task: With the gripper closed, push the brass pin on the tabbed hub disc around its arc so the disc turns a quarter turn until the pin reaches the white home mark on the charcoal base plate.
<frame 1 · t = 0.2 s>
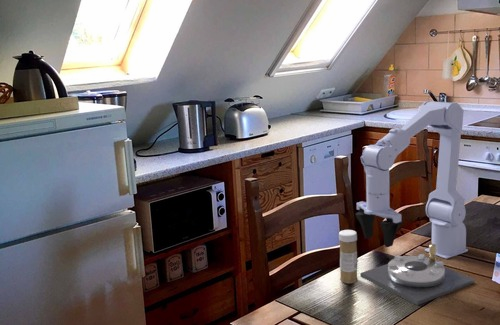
hand: (378, 241, 141), 10 cm above the table, tool pointing down, fingers open, 7 cm apart
tabbed hub disc: (416, 263, 140), point 5 cm above the table, hinge at 0.0°
sprinkles bottle: (348, 281, 143), on the table
base plate: (415, 279, 141), on the table
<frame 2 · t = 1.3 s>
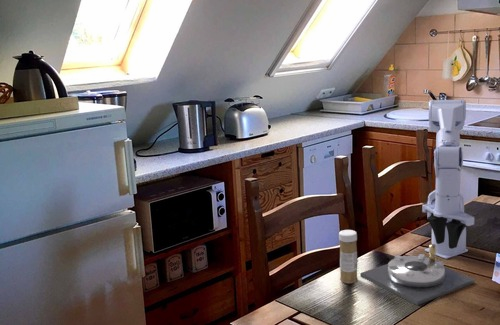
hand: (446, 245, 138), 9 cm above the table, tool pointing down, fingers open, 3 cm apart
nothing on the table moved.
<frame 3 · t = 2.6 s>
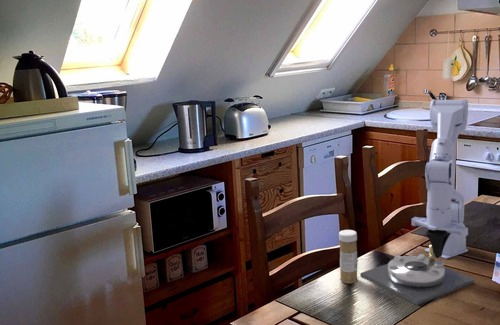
hand: (438, 256, 141), 5 cm above the table, tool pointing down, fingers closed, pressing on tabbed hub disc
tabbed hub disc: (416, 263, 140), point 5 cm above the table, hinge at 0.5°, touching gripper
everything else where it was.
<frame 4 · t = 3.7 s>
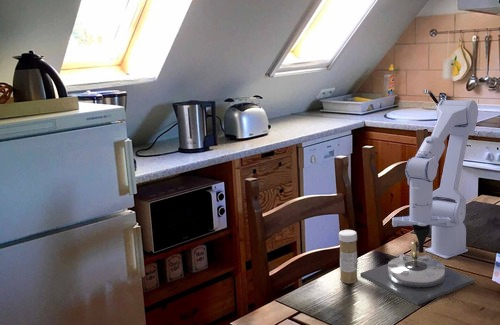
hand: (420, 251, 145), 5 cm above the table, tool pointing down, fingers closed, pressing on tabbed hub disc
tabbed hub disc: (416, 263, 140), point 5 cm above the table, hinge at 47.1°, touching gripper
everything else where it was.
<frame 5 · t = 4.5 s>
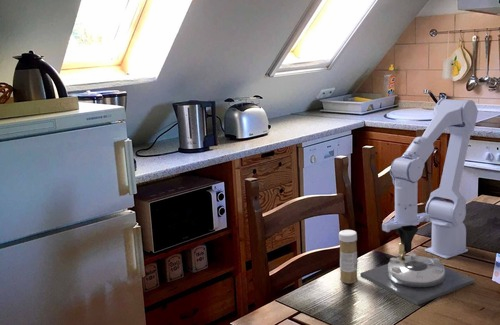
hand: (406, 251, 146), 5 cm above the table, tool pointing down, fingers closed
tabbed hub disc: (416, 263, 140), point 5 cm above the table, hinge at 81.0°, touching gripper
everything else where it was.
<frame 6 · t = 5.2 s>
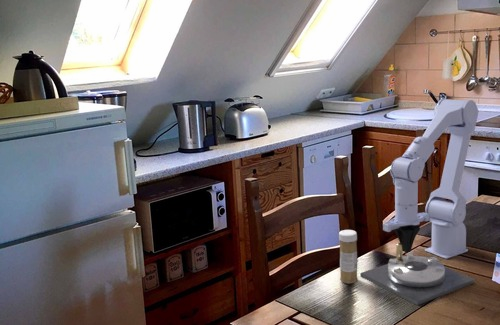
hand: (406, 251, 146), 5 cm above the table, tool pointing down, fingers closed
tabbed hub disc: (416, 263, 140), point 5 cm above the table, hinge at 88.5°
everything else where it was.
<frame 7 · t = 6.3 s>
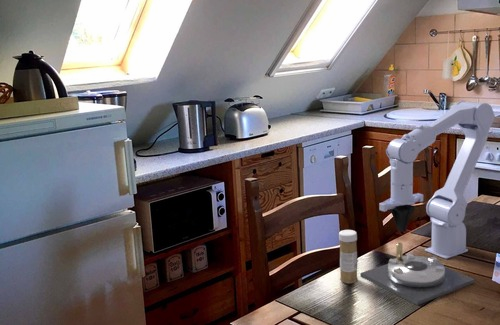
hand: (401, 230, 150), 9 cm above the table, tool pointing down, fingers closed
nothing on the table moved.
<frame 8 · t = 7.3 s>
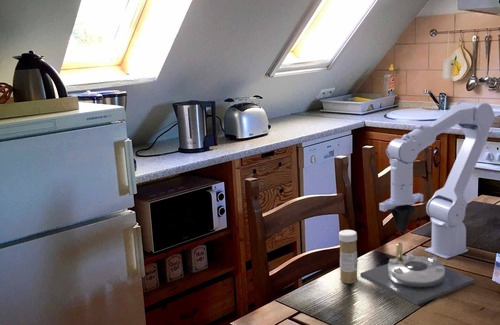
hand: (401, 230, 150), 9 cm above the table, tool pointing down, fingers closed
nothing on the table moved.
at the end: tabbed hub disc at +88° (first picture: +0°); sprinkles bottle moved 0.2 cm from its start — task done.
